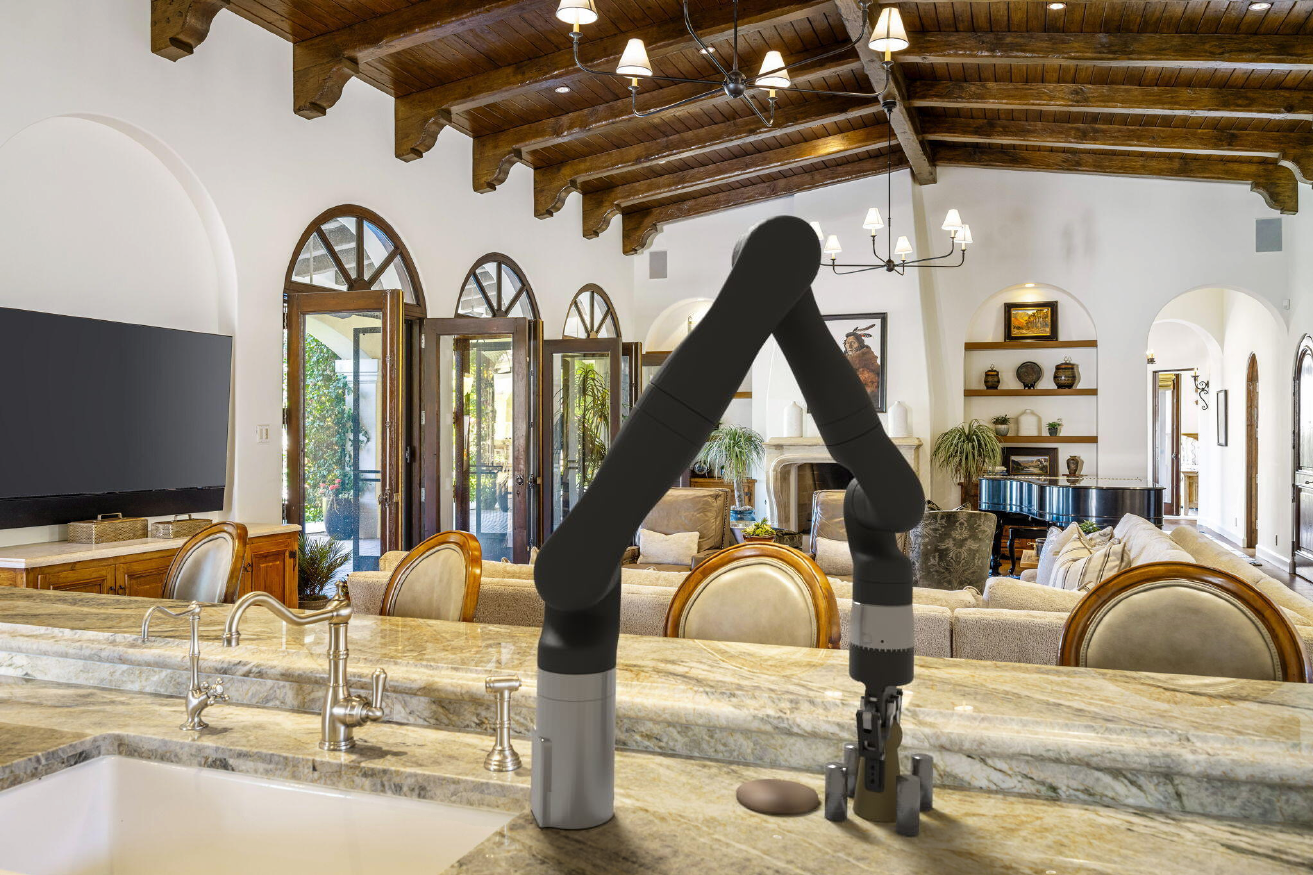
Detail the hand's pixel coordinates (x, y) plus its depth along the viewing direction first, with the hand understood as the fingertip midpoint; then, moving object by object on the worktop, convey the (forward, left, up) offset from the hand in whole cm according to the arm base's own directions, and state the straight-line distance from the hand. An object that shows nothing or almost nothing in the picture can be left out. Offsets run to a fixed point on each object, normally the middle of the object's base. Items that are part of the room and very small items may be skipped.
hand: (879, 783), depth 107 cm
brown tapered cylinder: (0, 0, -3) cm, 3 cm away
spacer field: (0, 0, -3) cm, 3 cm away
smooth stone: (-10, +7, -3) cm, 13 cm away
